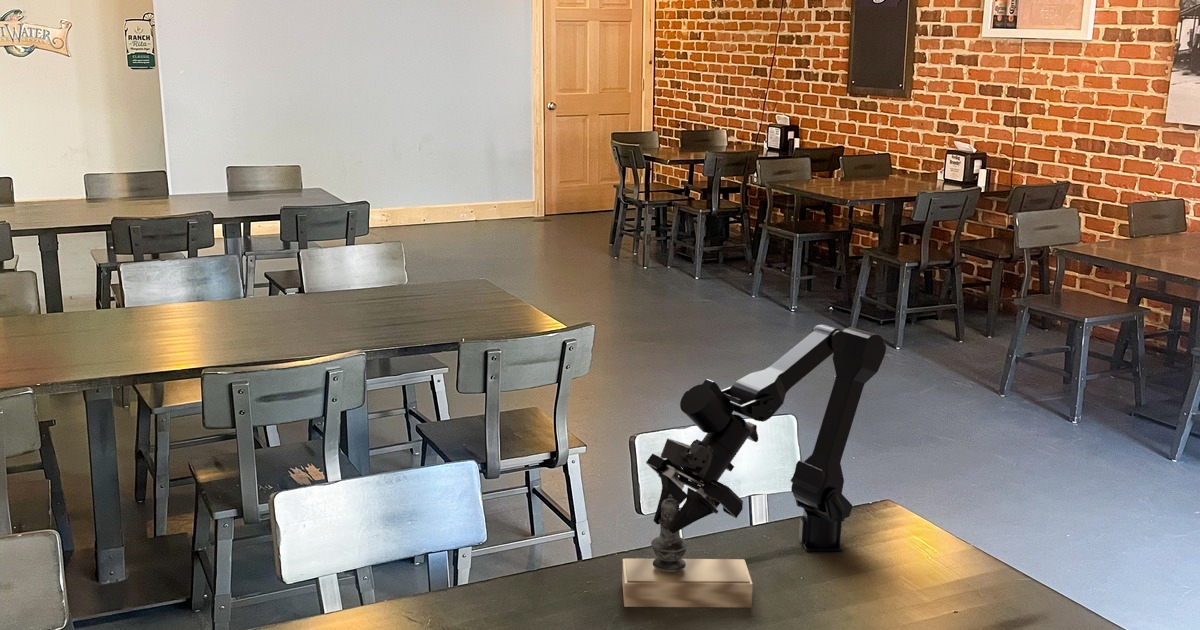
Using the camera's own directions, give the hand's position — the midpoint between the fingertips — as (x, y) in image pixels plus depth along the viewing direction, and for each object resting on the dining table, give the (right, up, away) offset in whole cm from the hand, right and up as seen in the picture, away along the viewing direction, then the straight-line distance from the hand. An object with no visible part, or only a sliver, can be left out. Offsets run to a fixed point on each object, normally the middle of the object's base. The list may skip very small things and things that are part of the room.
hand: (663, 527), depth 169 cm
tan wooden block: (+4, -11, +3) cm, 13 cm away
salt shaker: (+1, -7, +2) cm, 7 cm away
